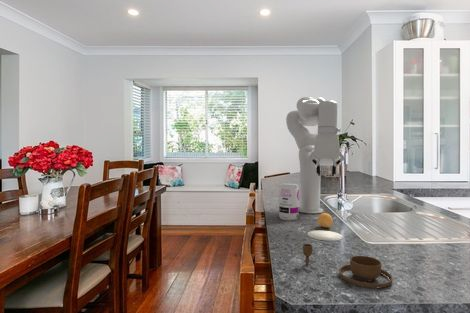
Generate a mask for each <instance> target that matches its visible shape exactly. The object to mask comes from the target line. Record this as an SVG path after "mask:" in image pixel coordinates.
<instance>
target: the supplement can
mask: <svg viewBox="0 0 470 313" xmlns="http://www.w3.org/2000/svg"><path fill="white" fill-rule="evenodd" d="M278 198H279V199H278V201H279V202H278V203H279V204H278V208H279V209H278V217H279V218H280V219H281V220H283V221H292V222H293V221H297V220H298V219H299V212H298V211H299V207H300V186H299V185H298V183H294V182H282V183H280V186H279V197H278Z"/></svg>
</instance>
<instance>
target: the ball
mask: <svg viewBox="0 0 470 313" xmlns="http://www.w3.org/2000/svg"><path fill="white" fill-rule="evenodd" d="M317 223H318V225H319V226H320V227H322V228H329V227H331V226H332V224H333V218H332V216H331V215H330V214H329V213H327V212H322V213H319V215H318V217H317Z"/></svg>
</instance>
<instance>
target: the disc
mask: <svg viewBox="0 0 470 313" xmlns="http://www.w3.org/2000/svg"><path fill="white" fill-rule="evenodd" d="M307 236H308V237H309V238H312V239H314V240H318V241H325V242H326V241H327V242H331V241H332V242H334V241H337V242H338V241H340V240H343V238H344V235H342V234H340V232H339V233H338V232H335V231H329V230H321V229H320V230H311V231H308V232H307Z"/></svg>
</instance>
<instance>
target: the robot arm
mask: <svg viewBox="0 0 470 313" xmlns="http://www.w3.org/2000/svg"><path fill="white" fill-rule="evenodd" d="M295 106H296V109H297V110H292V111H290V112H288V113H287V115H286V118H285V120H286V127H287V129H288V132H289V133H290V135H291V136H292V137H293V138H294V141H295V143H296V145H297V148H298V160H299V211H298V213H303V214H322V213H324V209H323V208H321V207H320V206H321V182H322V181H321V166H331V176H332V177H334V176H335V175H336V173H337V172H336V170H337V166H339V164H340V163H342V162H343V161H344V160H345V159H346V157H345V156H344V155H343V153H342V152H341V151H340V149H341V148H340V137H339V134H337V133H341V128H338V102H337V101H334V100H326V99H324V98H323V97H320V96H319V97H317V96H304V97H301V98H299V99H298V100H297V102H296V105H295ZM316 126H317V133H316V134H315V133H311V132H310V130H309V129H308V128H307V127H316ZM337 159H338V160H337Z"/></svg>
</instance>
